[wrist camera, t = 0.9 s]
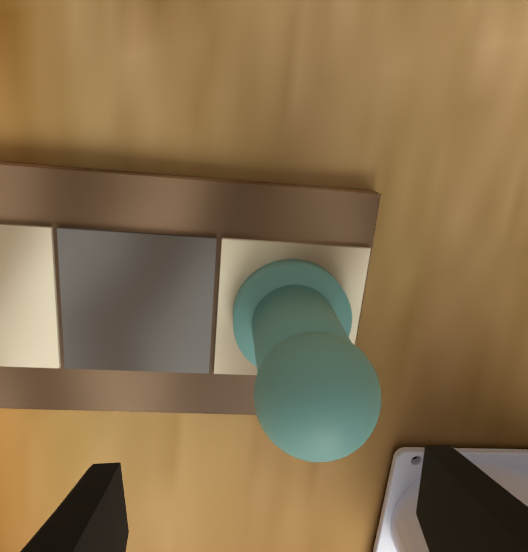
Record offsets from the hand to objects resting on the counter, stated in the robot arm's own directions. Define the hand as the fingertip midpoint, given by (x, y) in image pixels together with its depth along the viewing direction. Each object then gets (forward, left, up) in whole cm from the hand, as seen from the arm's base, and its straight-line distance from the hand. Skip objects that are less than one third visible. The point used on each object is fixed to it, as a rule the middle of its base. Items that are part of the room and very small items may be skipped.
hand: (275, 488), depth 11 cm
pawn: (-1, -1, -8) cm, 9 cm away
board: (+8, -1, -9) cm, 12 cm away
